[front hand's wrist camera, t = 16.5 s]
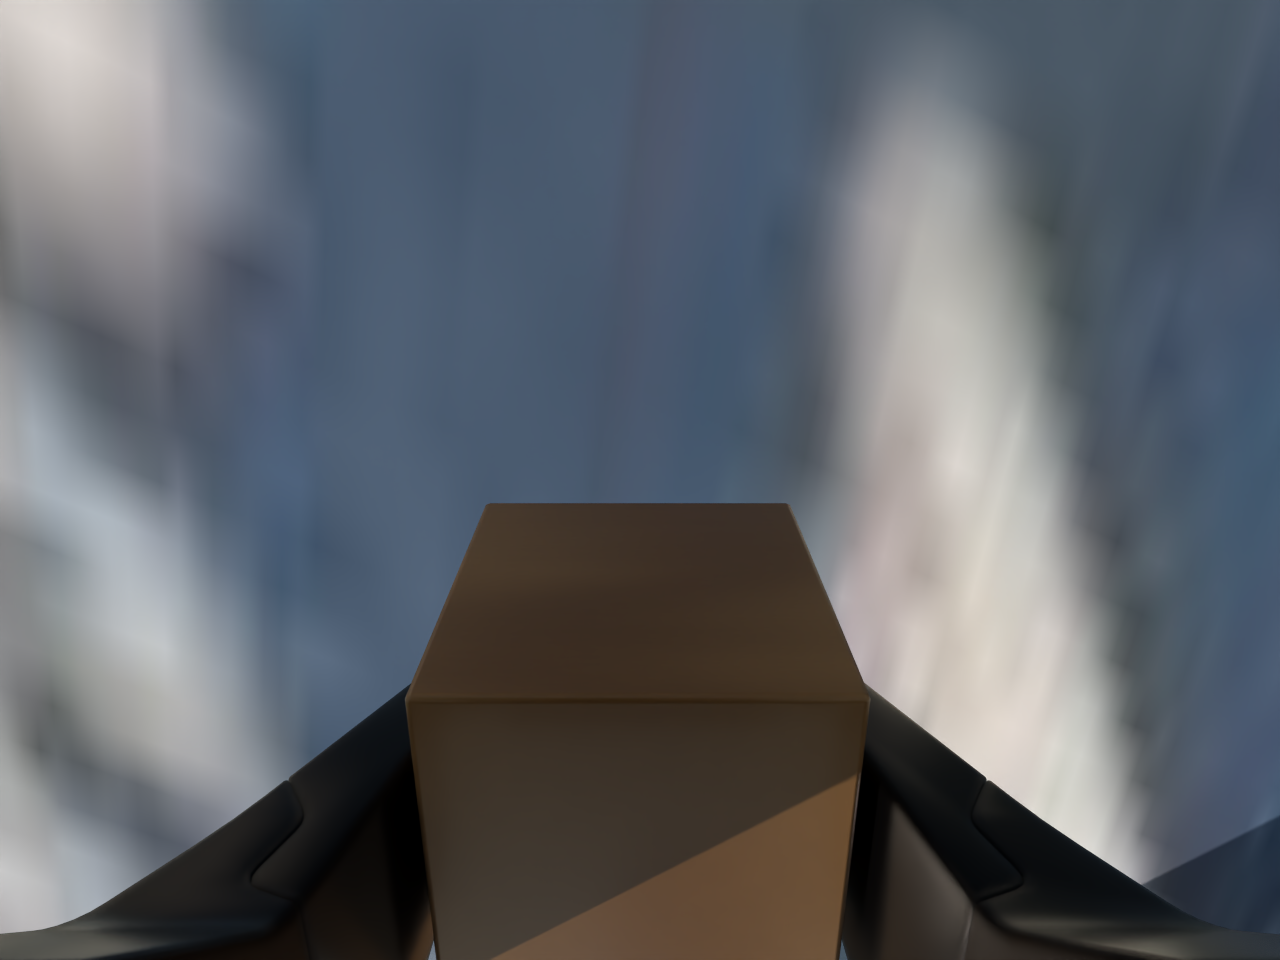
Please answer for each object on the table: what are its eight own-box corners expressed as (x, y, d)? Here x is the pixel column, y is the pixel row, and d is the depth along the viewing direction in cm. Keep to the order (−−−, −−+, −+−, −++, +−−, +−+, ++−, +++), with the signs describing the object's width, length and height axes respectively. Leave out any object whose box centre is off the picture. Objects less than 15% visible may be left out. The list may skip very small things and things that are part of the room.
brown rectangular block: (790, 501, 12) (873, 697, 8) (772, 749, 14) (834, 1023, 10) (485, 501, 12) (401, 696, 8) (502, 749, 14) (442, 1025, 9)
